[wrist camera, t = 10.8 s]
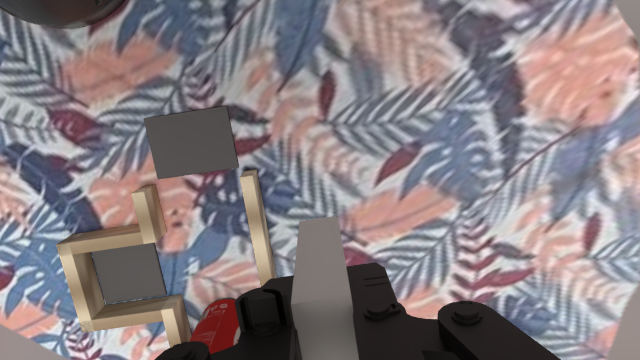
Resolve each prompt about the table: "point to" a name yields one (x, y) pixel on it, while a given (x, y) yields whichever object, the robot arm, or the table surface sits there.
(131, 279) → the mats
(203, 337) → the beverage can
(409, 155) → the table surface
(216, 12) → the table surface
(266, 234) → the box
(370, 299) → the robot arm
